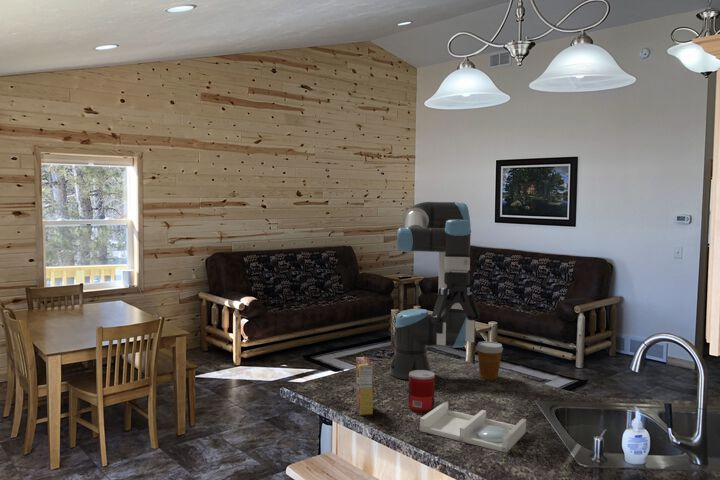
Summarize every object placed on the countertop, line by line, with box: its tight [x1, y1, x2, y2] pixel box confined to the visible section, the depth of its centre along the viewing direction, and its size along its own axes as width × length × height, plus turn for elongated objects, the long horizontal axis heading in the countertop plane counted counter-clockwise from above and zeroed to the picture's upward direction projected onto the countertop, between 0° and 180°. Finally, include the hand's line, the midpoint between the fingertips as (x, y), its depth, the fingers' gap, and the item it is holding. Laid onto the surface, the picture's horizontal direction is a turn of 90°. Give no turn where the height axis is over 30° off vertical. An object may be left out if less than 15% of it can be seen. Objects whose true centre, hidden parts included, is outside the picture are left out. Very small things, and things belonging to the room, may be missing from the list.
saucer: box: [476, 425, 509, 443], centre depth 165 cm, size 9×9×1 cm
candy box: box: [355, 356, 374, 416], centre depth 185 cm, size 9×4×15 cm, turn 8°
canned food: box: [407, 370, 436, 413], centre depth 187 cm, size 8×8×11 cm
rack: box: [419, 401, 527, 453], centre depth 168 cm, size 16×25×4 cm, turn 57°
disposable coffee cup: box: [475, 340, 504, 380], centre depth 219 cm, size 10×10×12 cm
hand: (455, 343), depth 180 cm, fingers open, 13 cm apart
